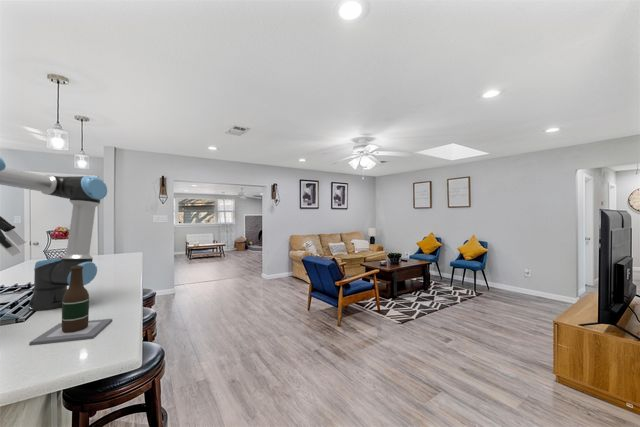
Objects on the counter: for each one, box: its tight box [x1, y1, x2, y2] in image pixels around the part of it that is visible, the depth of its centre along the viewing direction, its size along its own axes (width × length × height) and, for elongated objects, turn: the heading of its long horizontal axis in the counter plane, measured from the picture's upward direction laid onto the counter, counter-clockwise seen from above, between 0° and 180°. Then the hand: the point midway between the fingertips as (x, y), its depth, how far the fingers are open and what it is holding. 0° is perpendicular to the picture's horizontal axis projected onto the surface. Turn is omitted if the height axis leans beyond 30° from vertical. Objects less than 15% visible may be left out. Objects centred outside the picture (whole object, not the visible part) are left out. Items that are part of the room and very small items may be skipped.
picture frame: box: [28, 318, 113, 346], centre depth 106 cm, size 18×18×1 cm
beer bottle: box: [61, 266, 90, 333], centre depth 106 cm, size 8×8×24 cm
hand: (20, 248), depth 107 cm, fingers open, 13 cm apart
